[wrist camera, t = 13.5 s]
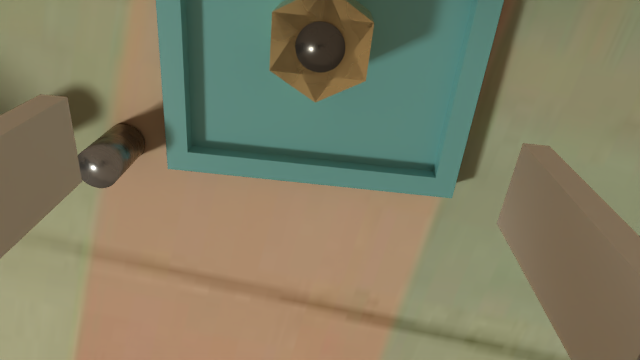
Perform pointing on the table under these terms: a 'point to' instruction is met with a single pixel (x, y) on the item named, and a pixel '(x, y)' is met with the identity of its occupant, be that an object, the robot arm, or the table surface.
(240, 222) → the table surface
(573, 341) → the robot arm
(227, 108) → the tray
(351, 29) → the nut
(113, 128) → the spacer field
